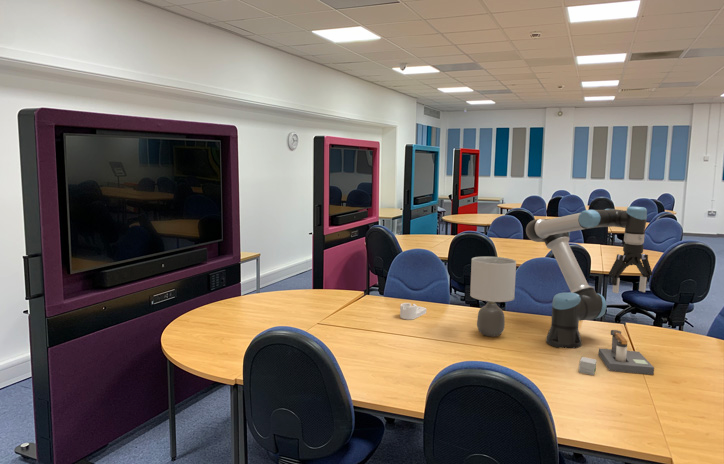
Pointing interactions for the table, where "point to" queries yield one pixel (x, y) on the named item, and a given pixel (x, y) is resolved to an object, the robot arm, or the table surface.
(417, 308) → the bracket
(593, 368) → the small box
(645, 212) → the robot arm
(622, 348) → the plug
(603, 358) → the socket plate
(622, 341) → the clip
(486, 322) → the lamp
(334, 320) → the table surface
